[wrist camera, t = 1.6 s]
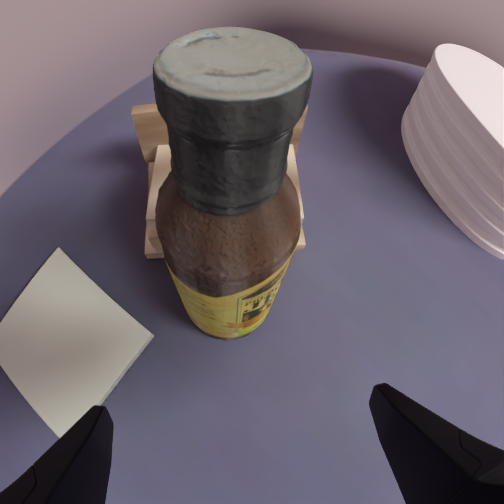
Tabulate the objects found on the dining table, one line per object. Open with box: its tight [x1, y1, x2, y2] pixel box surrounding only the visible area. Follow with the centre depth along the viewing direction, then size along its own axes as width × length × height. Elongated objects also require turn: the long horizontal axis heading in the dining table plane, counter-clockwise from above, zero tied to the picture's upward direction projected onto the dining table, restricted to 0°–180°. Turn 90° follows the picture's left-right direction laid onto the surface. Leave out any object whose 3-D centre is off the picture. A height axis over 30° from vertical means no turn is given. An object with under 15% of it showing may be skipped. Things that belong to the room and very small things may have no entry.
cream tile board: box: [0, 247, 154, 438], centre depth 21 cm, size 12×12×1 cm
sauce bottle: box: [153, 27, 313, 340], centre depth 15 cm, size 6×6×20 cm
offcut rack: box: [131, 103, 308, 259], centre depth 24 cm, size 9×13×9 cm
